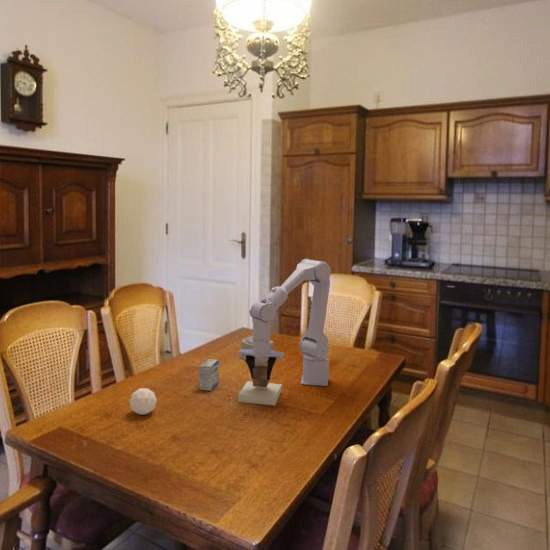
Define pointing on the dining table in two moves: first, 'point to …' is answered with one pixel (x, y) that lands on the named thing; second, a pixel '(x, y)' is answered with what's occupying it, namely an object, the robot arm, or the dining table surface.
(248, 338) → the lumpy-topped squat cylinder
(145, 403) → the geometric ball
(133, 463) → the dining table surface
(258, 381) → the walnut block
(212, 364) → the medicine box
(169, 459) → the dining table surface
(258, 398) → the base block
